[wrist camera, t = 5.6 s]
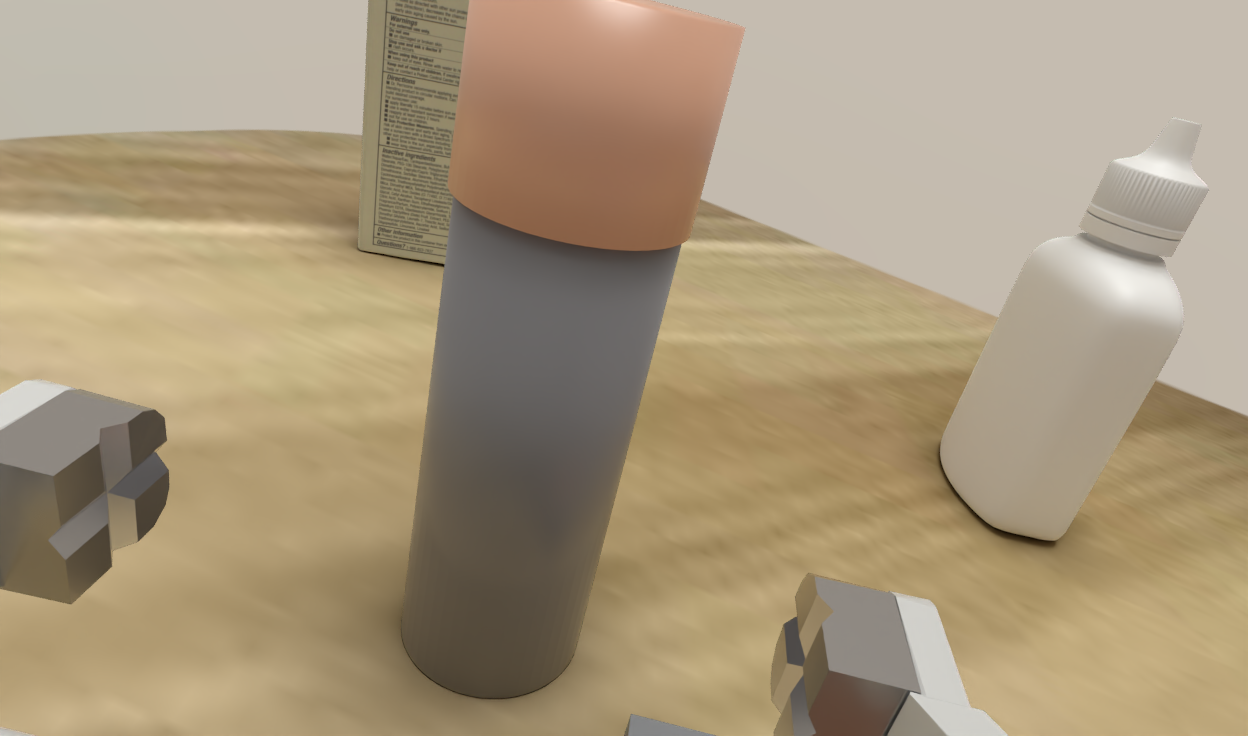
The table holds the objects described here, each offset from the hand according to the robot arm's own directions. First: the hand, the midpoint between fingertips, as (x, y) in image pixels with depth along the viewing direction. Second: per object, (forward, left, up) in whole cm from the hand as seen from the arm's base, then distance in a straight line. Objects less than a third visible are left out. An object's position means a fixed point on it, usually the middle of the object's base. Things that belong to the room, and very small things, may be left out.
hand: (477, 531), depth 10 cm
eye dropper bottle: (-14, -15, -6) cm, 21 cm away
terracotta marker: (0, -4, -6) cm, 7 cm away
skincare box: (+8, -24, -6) cm, 26 cm away
